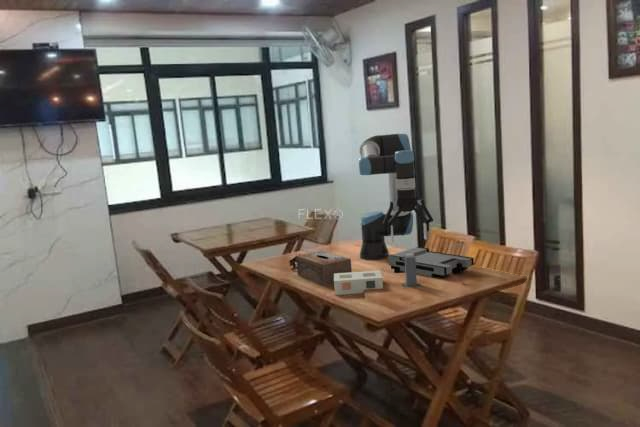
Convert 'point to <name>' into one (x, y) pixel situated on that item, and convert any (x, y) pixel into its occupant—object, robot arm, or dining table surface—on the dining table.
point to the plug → (410, 270)
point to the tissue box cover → (322, 266)
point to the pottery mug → (293, 261)
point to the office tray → (431, 262)
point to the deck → (411, 286)
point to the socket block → (357, 282)
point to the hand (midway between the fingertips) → (409, 240)
